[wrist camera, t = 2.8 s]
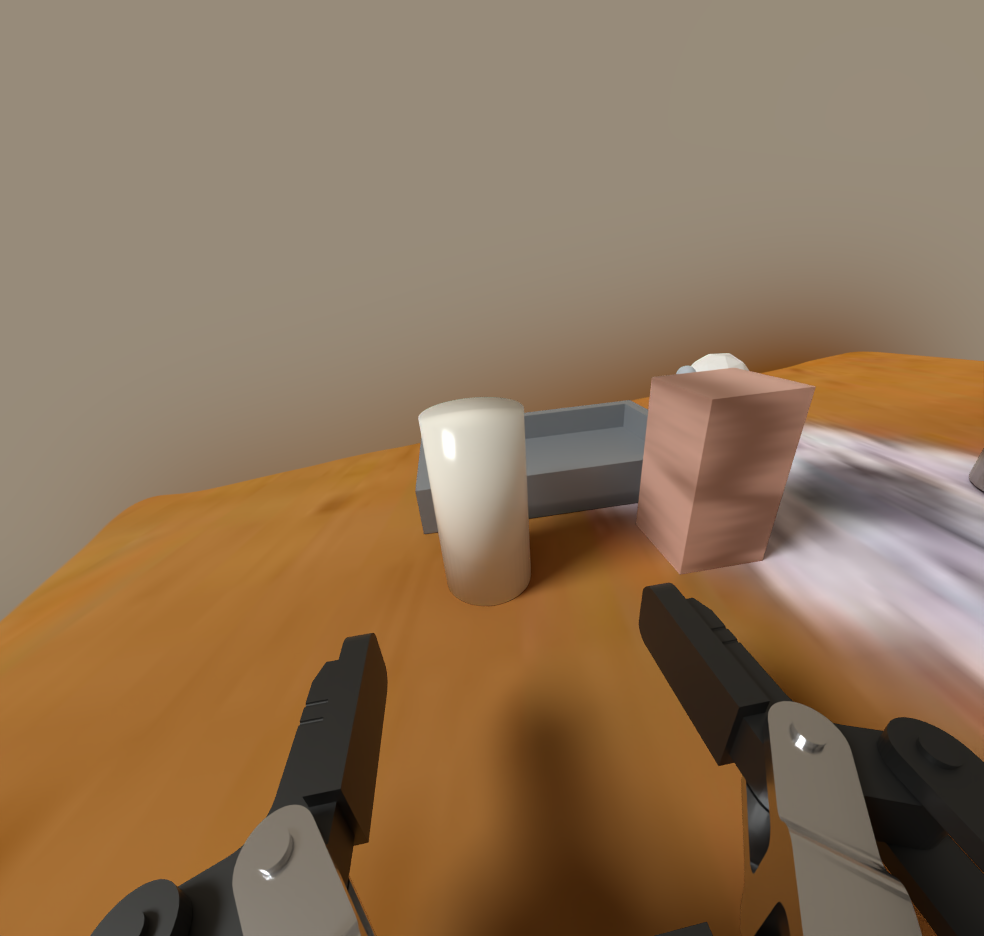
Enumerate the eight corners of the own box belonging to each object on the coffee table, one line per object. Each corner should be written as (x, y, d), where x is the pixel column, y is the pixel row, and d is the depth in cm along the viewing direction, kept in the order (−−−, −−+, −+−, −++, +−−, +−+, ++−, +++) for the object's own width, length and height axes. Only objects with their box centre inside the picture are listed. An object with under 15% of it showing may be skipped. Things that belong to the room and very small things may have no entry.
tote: (627, 431, 40) (629, 400, 39) (713, 491, 28) (722, 449, 26) (428, 456, 38) (422, 425, 37) (424, 534, 26) (415, 491, 24)
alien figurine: (714, 413, 49) (645, 396, 45) (739, 361, 47) (669, 337, 43) (765, 431, 43) (691, 413, 38) (797, 371, 40) (722, 344, 36)
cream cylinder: (521, 541, 24) (512, 393, 20) (540, 597, 20) (535, 420, 15) (445, 553, 24) (420, 403, 19) (448, 613, 19) (415, 435, 15)
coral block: (704, 513, 25) (734, 367, 21) (762, 560, 21) (815, 386, 16) (635, 524, 25) (651, 377, 20) (679, 574, 20) (712, 399, 16)
